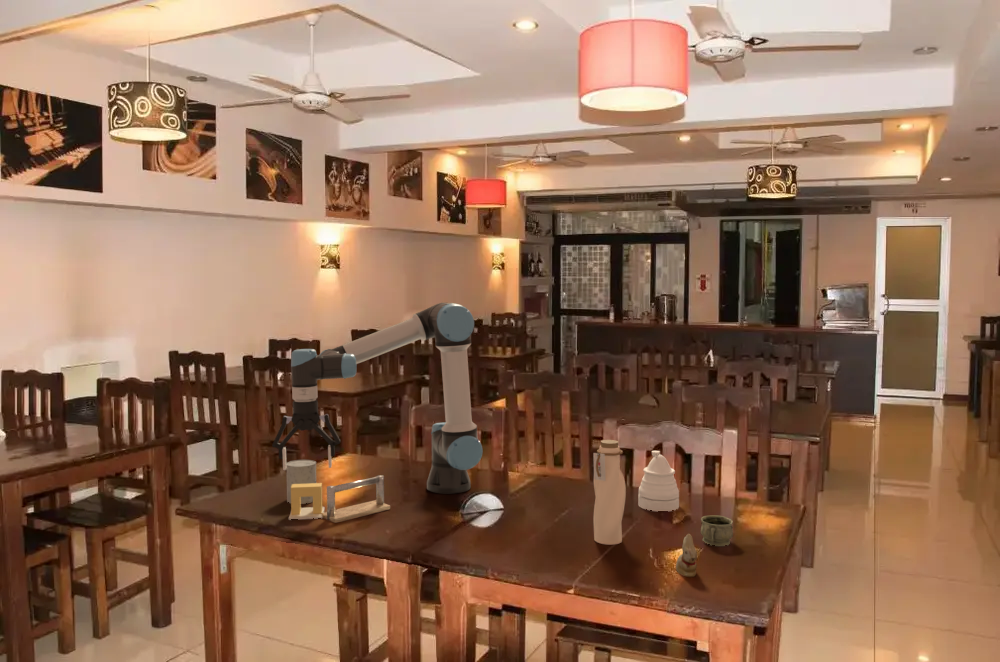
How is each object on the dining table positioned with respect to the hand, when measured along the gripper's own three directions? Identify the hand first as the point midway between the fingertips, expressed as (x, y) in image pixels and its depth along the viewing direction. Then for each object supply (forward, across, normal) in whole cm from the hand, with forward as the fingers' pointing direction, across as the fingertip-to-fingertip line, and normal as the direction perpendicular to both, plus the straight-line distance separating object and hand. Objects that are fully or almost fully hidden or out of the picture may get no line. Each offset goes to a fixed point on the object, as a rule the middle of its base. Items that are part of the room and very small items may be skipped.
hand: (307, 468), depth 243 cm
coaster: (+14, -1, 0) cm, 14 cm away
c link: (+14, -1, 0) cm, 14 cm away
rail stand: (+15, +14, -1) cm, 21 cm away
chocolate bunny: (+16, +97, -62) cm, 117 cm away
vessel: (+17, +114, -42) cm, 123 cm away
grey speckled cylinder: (+15, -4, +16) cm, 22 cm away
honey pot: (+17, +110, -7) cm, 112 cm away
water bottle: (+16, +84, -37) cm, 94 cm away
